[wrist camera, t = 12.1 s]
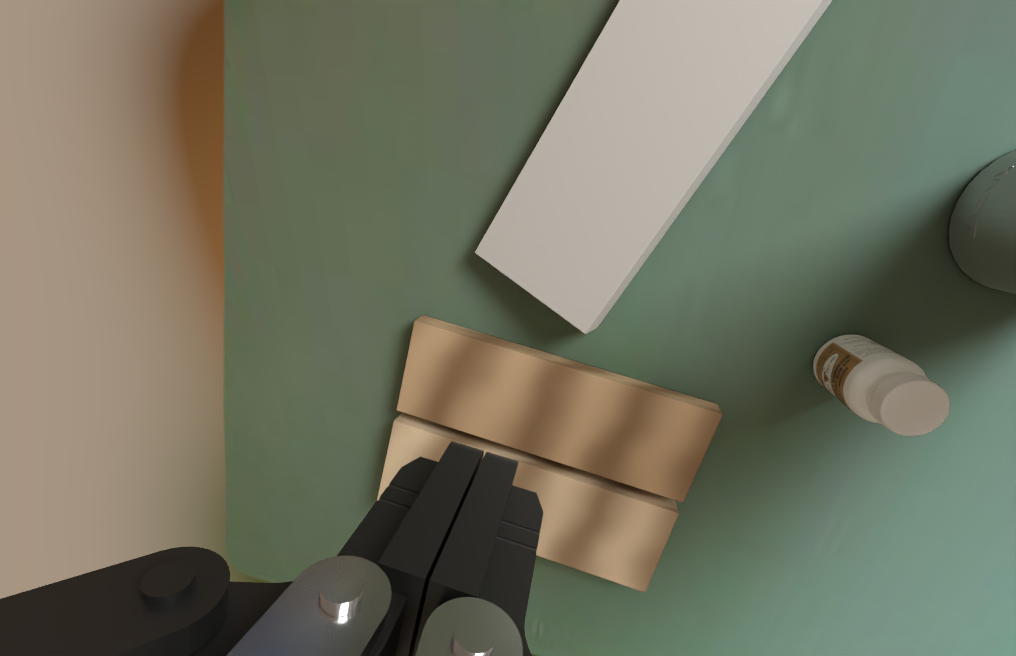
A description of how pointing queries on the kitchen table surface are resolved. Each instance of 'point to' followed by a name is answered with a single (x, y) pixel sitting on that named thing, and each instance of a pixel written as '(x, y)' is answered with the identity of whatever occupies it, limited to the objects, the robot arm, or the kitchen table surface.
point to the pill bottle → (881, 385)
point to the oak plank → (561, 505)
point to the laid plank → (557, 408)
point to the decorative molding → (637, 143)
